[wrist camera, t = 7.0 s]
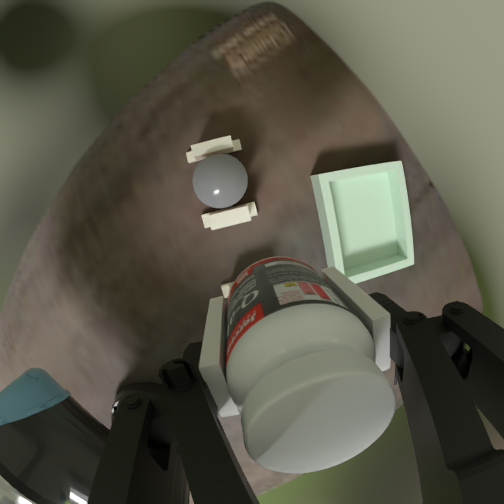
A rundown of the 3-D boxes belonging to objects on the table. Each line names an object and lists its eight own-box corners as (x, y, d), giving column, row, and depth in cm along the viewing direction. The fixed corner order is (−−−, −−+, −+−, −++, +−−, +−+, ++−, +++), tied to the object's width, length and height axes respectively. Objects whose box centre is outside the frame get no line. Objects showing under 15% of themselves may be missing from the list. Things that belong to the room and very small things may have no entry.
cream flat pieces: (239, 345, 35) (240, 363, 31) (186, 153, 30) (180, 148, 26) (284, 334, 35) (290, 350, 31) (239, 140, 30) (240, 133, 26)
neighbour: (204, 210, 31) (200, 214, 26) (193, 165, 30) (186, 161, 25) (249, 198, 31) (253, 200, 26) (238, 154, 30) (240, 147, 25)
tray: (329, 280, 34) (338, 288, 31) (310, 175, 31) (318, 174, 28) (401, 258, 34) (414, 264, 32) (388, 162, 31) (401, 160, 29)
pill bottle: (227, 252, 15) (223, 358, 6) (328, 254, 16) (438, 339, 6) (226, 344, 17) (227, 484, 7) (316, 342, 17) (380, 463, 7)
